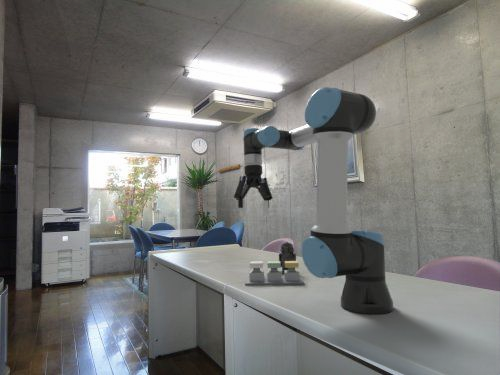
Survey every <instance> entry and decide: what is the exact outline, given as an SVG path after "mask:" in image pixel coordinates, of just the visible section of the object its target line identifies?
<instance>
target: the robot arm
mask: <svg viewBox="0 0 500 375" xmlns="http://www.w3.org/2000/svg"><path fill="white" fill-rule="evenodd" d="M376 116H377V109H376V106H375V103H374V101H372V99H370V97H369V96H367V95H364V94H362V93H359V92H358V93H357V92H354V91H353V92H352V91H348V90H344V89H339V88H338V87H329V86H323V87H320V88H318V89H317V90H315V91H314V92H313V94H311V96H310V98H309V99H308V101H307V103H306V106H305V110H304V120H305V123H306V124H305V125H303V126H300V127H298V128H295V129H292V130H283V129H278V128H277V127H276V126H274V125H266V126H264V127H262V128H256V127H252V128H251V127H250V128H246V129H245V130H244V131H243V138H242V139H243V158H244V160H243V163H244V167H243V168H244V175H240V176H239V181H238V184H237V187H236V190H235V193H234V195H233V198H234V199H235V200H236V201H238V202H237V203H238V209H239V211H238V212H239V217H246V200H245V197H246V195H247V194H248V192H249V191H250V189H252V188H253V189H257V191H258V193H259V194H260V196H261V198H262V216H264V217H266V216H268V217H269V213H270V212H269V208H270V201H272V199H273V195H272V192H271V190H270V187H269V184H268V179H267V177H262V175H263V166H262V165H263V154H262V153H263V149H265V148H269V149H280V150H289V151H301V150H303V149H304V148H305V146H308V145H312V144H316V143H317V157H316V158H317V160H316V162H317V163H316V165H317V166H316V167H317V168H316V200H315V201H316V208H315V209H316V210H315V211H316V212H315V224H314V225H313V226H312V227H311V228H310V234H309V237H306V238H305V239H304V241H303V243H302V245H301V257H302V261H303V264H304V266H305V267H306V269H307V270H308V272H309V273H310V274H311V275H313V276H314V277H316V278H318V279H319V278H320V279H333V278H336V277H343V276H344V277H345V282H344V284H343V289H342V293H341V295H340V306H341V308H342V309H345V310H346V311H350V312H353V313H359V314H367V315H370V314H371V315H380V314H381V315H382V314H387V313H391V312H392V311H394V301H393V298H392V296H391V293H390V292H391V291H390V289H389V287H388V285H387V282H386V265H385V264H386V262H385V260H386V259H385V258H386V256H385V244H384V238H383V237H384V236H383V235H382V234H381V233H380V232H377V231H367V230H358V229H357V230H355V229H350V227H349V226H348V224H347V218H348V217H347V214H348V211H347V210H348V206H347V205H348V174H349V172H348V169H349V142H350V140H352V138H353V137H354V136H355V135H358V134H361V133H364V132H366V131H367V130H368V129H370V128H371V127H372V125H373V124H374V123H375V121H376Z"/></svg>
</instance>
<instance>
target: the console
mask: <svg viewBox="0 0 500 375" xmlns="http://www.w3.org/2000/svg"><path fill="white" fill-rule="evenodd" d="M277 270H278V269H277ZM281 271H282V269H281V270H278V272H271V269H270V270H269V269H268V270H267V271H266V275H265V271H264V269H263V270H261V269H260V273H253V270H250V271H249V273H248V275H247V277H246V280H245V283H244V285H245V286H305V284H306V283H305V280H304V279H303V277H302V275H301V274H300V270H298V269H295V272H288V270H284V274H282V273H281Z"/></svg>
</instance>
